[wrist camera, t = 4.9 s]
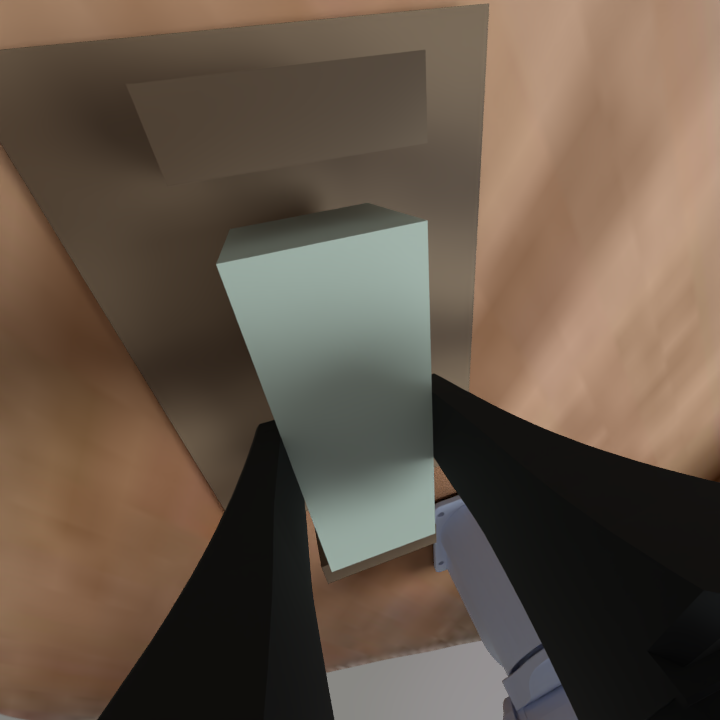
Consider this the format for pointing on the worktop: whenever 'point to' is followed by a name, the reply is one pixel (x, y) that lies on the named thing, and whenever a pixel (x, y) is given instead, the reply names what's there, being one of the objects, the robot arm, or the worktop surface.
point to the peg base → (248, 184)
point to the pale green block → (344, 366)
